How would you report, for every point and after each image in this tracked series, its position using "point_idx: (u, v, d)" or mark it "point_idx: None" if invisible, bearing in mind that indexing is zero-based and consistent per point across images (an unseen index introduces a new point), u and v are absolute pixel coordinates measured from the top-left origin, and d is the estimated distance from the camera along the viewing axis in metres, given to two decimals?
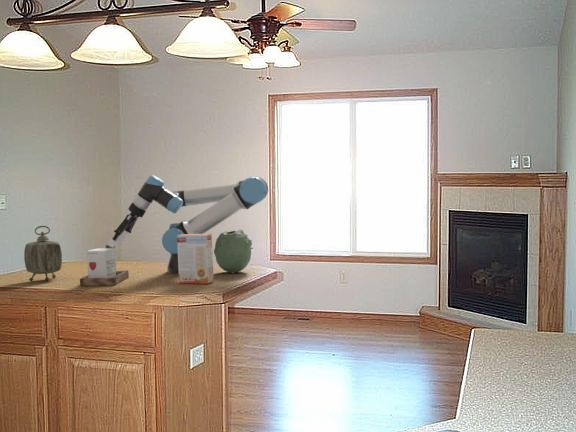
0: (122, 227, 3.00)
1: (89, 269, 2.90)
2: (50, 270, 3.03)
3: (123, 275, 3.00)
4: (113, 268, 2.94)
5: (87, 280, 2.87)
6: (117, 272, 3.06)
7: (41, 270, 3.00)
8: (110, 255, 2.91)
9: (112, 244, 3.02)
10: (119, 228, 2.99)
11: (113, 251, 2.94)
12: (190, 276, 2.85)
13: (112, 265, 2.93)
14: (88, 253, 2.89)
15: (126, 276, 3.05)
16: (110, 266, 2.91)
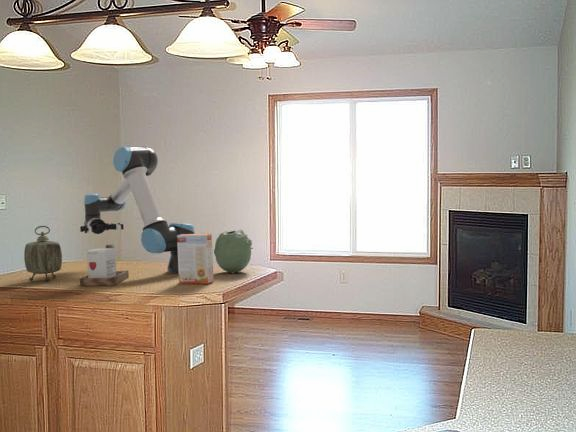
0: None
1: (89, 269, 2.90)
2: (50, 270, 3.03)
3: (123, 275, 3.00)
4: (113, 268, 2.94)
5: (87, 280, 2.87)
6: (117, 272, 3.06)
7: (41, 270, 3.00)
8: (110, 255, 2.91)
9: (89, 228, 3.13)
10: None
11: (113, 251, 2.94)
12: (190, 276, 2.85)
13: (112, 265, 2.93)
14: (88, 253, 2.89)
15: (126, 276, 3.05)
16: (110, 266, 2.91)
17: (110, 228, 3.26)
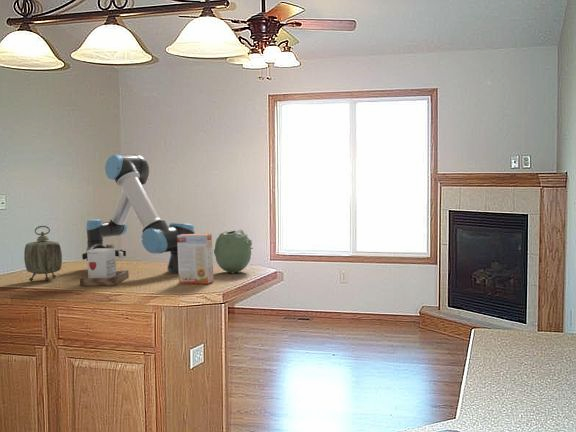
0: None
1: (89, 269, 2.90)
2: (50, 270, 3.03)
3: (123, 275, 3.00)
4: (113, 268, 2.94)
5: (87, 280, 2.87)
6: (117, 272, 3.06)
7: (41, 270, 3.00)
8: (110, 255, 2.91)
9: None
10: None
11: (113, 251, 2.94)
12: (190, 276, 2.85)
13: (112, 265, 2.93)
14: (88, 253, 2.89)
15: (126, 276, 3.05)
16: (110, 266, 2.91)
17: None
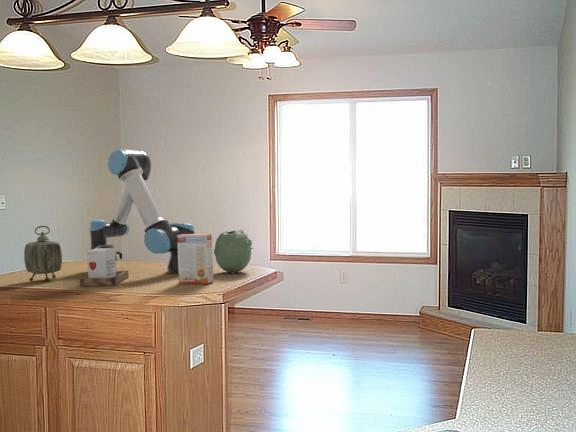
0: None
1: (89, 269, 2.90)
2: (50, 270, 3.03)
3: (123, 275, 3.00)
4: (113, 268, 2.94)
5: (87, 280, 2.87)
6: (117, 272, 3.06)
7: (41, 270, 3.00)
8: (110, 255, 2.91)
9: None
10: None
11: (113, 251, 2.94)
12: (190, 276, 2.85)
13: (112, 265, 2.93)
14: (88, 253, 2.89)
15: (126, 276, 3.05)
16: (110, 266, 2.91)
17: None
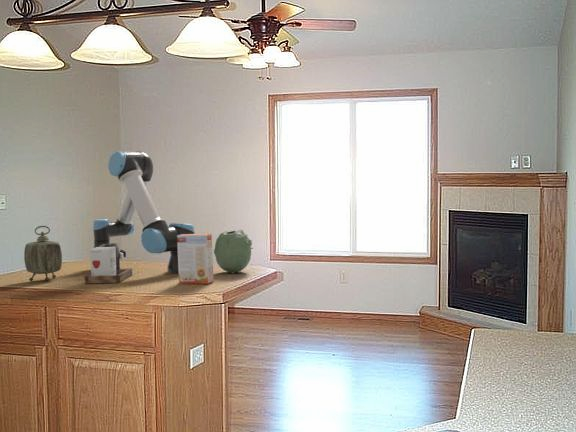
0: None
1: (93, 267, 2.94)
2: (50, 270, 3.03)
3: (127, 273, 3.06)
4: (114, 266, 3.00)
5: (92, 278, 2.93)
6: (121, 270, 3.13)
7: (41, 270, 3.00)
8: (112, 253, 2.98)
9: None
10: None
11: (114, 249, 3.01)
12: (190, 276, 2.85)
13: (114, 263, 3.00)
14: (91, 252, 2.94)
15: (130, 274, 3.11)
16: (113, 264, 2.98)
17: None
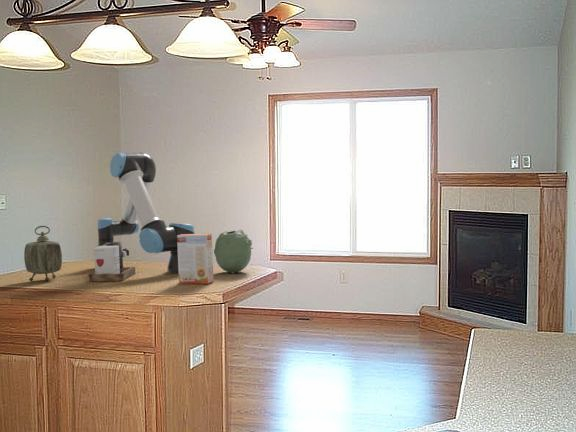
0: None
1: (96, 265, 3.00)
2: (50, 270, 3.03)
3: (130, 271, 3.12)
4: (118, 264, 3.06)
5: (96, 276, 2.98)
6: (124, 268, 3.18)
7: (41, 270, 3.00)
8: (116, 251, 3.03)
9: None
10: None
11: (118, 248, 3.06)
12: (190, 276, 2.85)
13: (117, 261, 3.05)
14: (95, 250, 2.99)
15: (133, 272, 3.17)
16: (116, 263, 3.03)
17: None
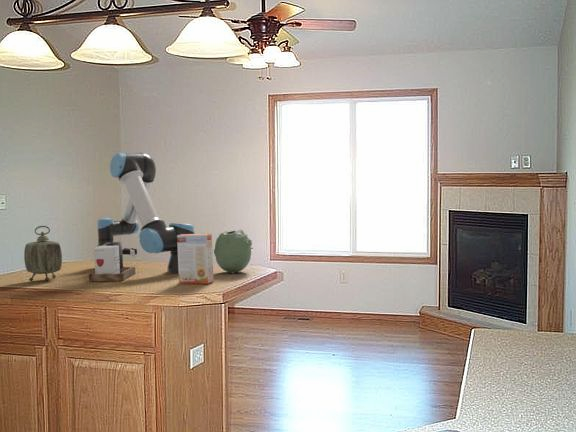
0: None
1: (96, 265, 3.00)
2: (50, 270, 3.03)
3: (130, 271, 3.12)
4: (118, 264, 3.06)
5: (96, 276, 2.98)
6: (124, 268, 3.18)
7: (41, 270, 3.00)
8: (116, 251, 3.03)
9: None
10: None
11: (118, 248, 3.06)
12: (190, 276, 2.85)
13: (117, 261, 3.05)
14: (95, 250, 2.99)
15: (133, 272, 3.17)
16: (116, 263, 3.03)
17: (123, 253, 3.27)
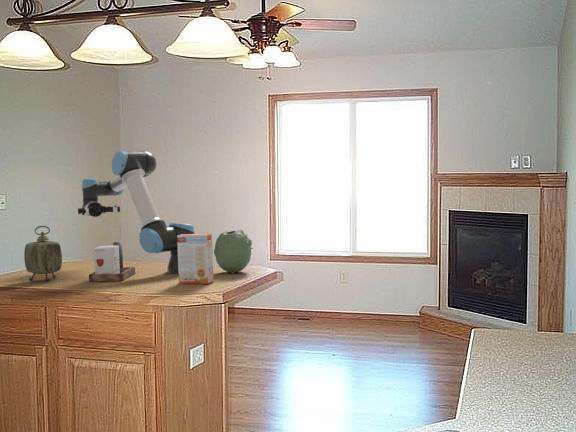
0: None
1: (96, 265, 3.00)
2: (50, 270, 3.03)
3: (130, 271, 3.12)
4: (118, 264, 3.06)
5: (96, 276, 2.98)
6: (124, 268, 3.18)
7: (41, 270, 3.00)
8: (116, 251, 3.03)
9: (86, 210, 3.22)
10: None
11: (118, 248, 3.06)
12: (190, 276, 2.85)
13: (117, 261, 3.05)
14: (95, 250, 2.99)
15: (133, 272, 3.17)
16: (116, 263, 3.03)
17: (107, 211, 3.35)
